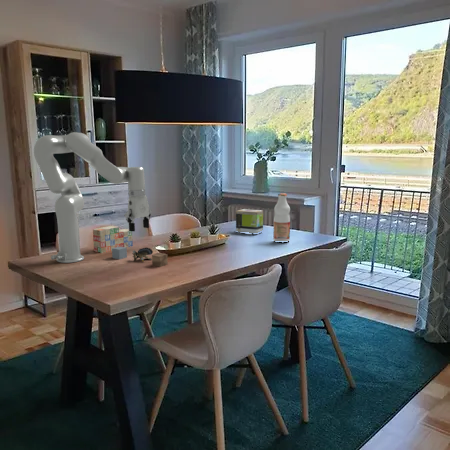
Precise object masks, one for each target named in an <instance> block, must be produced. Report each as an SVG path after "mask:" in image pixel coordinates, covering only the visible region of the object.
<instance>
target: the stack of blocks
mask: <svg viewBox="0 0 450 450" xmlns="http://www.w3.org/2000/svg"><path fill="white" fill-rule="evenodd" d="M92 241H93V252H94V251H96V252H95V253H98V252H100V253H99V254H104V253H103V252H105V253H109V252H112V248H116V247H125V248H129V247H130V246H131V247H133V246H134V245H133V242H134V241H133V231H129V228H123V229H120V228H119V226H114V225H109V226H108V225H107V226H103V227H98V228H93V229H92ZM131 247H130V248H131ZM108 251H109V252H108Z"/></svg>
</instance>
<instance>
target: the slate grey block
mask: <svg viewBox="0 0 450 450" xmlns="http://www.w3.org/2000/svg"><path fill="white" fill-rule="evenodd" d="M127 248H128V247H126V248H125V247H116V248H112V251H111V252H112V253H111V254H112V255H111V256H112V259H116V260H123V259H126V258H128V249H127Z"/></svg>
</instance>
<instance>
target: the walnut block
mask: <svg viewBox="0 0 450 450" xmlns="http://www.w3.org/2000/svg"><path fill="white" fill-rule="evenodd" d="M151 259H152V260H151V262H152V263H151V265H152V266H153V267H160V268H162V267H165V266H167V265H168V264H169V263H168V262H169V261H168V253H167V254H166V253H163V252H157V253H154V254H151Z"/></svg>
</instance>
